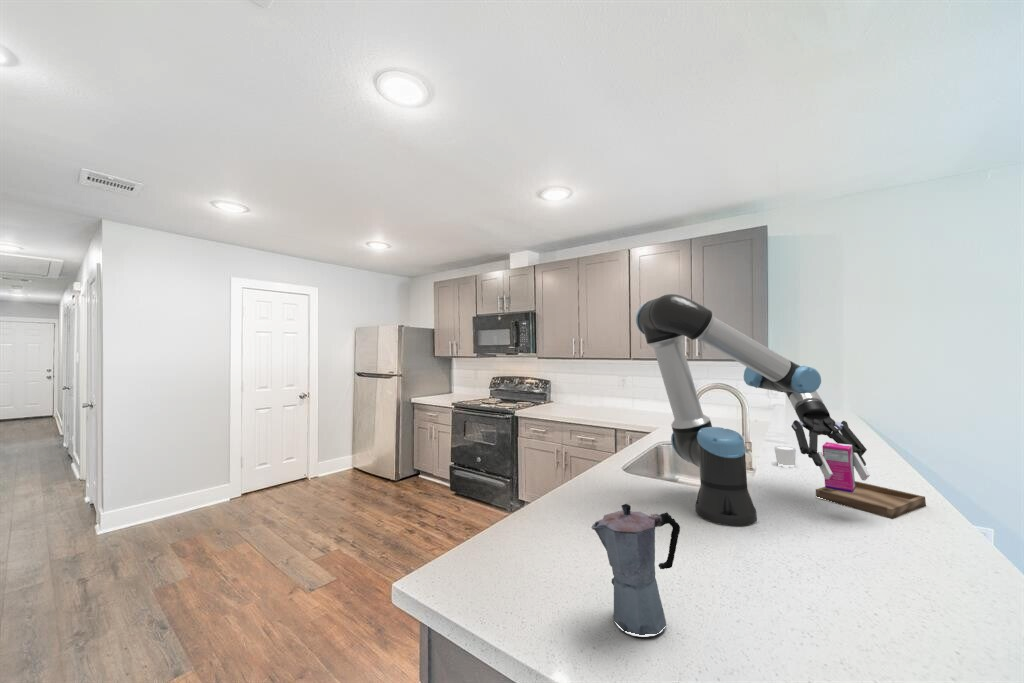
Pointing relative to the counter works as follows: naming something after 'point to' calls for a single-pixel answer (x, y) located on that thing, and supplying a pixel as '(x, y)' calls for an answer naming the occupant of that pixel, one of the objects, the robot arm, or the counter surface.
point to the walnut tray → (875, 499)
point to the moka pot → (636, 566)
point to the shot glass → (785, 455)
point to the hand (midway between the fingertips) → (847, 477)
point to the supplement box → (839, 466)
